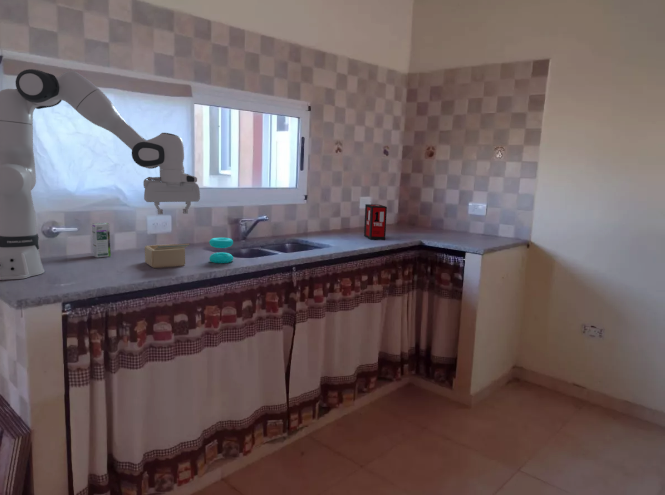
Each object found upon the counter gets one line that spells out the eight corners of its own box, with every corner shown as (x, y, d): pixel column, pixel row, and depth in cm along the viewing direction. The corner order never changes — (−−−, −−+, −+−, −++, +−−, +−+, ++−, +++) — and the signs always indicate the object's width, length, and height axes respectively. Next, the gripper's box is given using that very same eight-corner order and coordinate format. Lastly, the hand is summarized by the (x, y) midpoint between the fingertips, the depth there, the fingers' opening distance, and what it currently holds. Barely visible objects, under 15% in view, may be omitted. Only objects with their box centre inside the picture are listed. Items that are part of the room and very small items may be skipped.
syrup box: (96, 257, 202) (95, 224, 200) (93, 255, 207) (91, 222, 204) (111, 256, 206) (109, 223, 204) (107, 254, 210) (105, 222, 208)
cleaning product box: (385, 240, 283) (386, 206, 280) (370, 240, 282) (372, 206, 278) (377, 236, 299) (379, 204, 296) (363, 236, 298) (365, 204, 294)
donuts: (234, 240, 199) (210, 240, 196) (234, 263, 201) (210, 264, 198) (231, 236, 209) (208, 237, 205) (231, 259, 210) (208, 259, 207)
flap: (154, 250, 185) (159, 246, 178) (154, 249, 185) (159, 245, 178) (184, 248, 191) (189, 244, 185) (183, 247, 191) (189, 243, 185)
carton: (152, 268, 186) (152, 250, 185) (144, 262, 197) (143, 245, 196) (185, 265, 193) (185, 248, 192) (176, 259, 204) (175, 243, 203)
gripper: (145, 177, 170) (146, 215, 172) (201, 178, 182) (201, 213, 184) (141, 176, 175) (142, 213, 178) (195, 177, 187) (196, 212, 189)
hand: (173, 213), depth 181 cm, fingers open, 8 cm apart
